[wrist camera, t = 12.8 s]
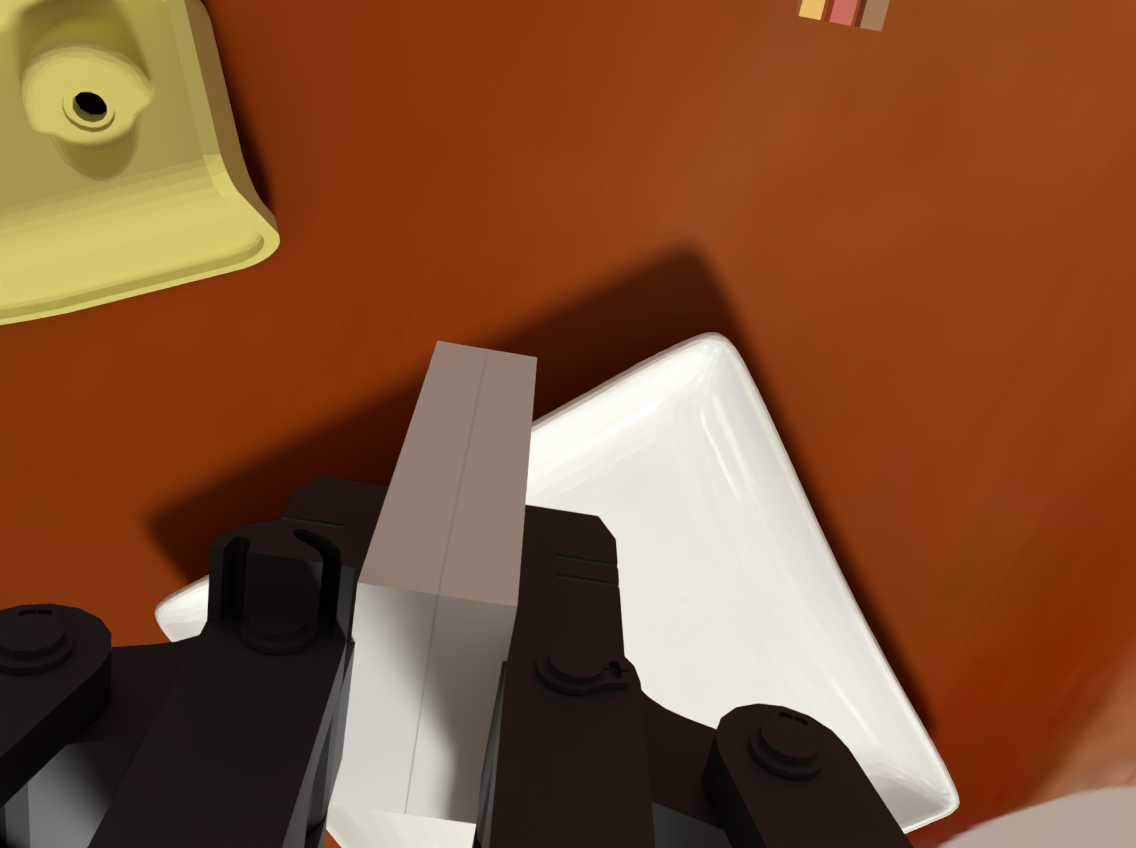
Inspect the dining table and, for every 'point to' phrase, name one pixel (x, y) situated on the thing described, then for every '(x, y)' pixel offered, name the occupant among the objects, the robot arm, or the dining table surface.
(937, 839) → the dining table surface
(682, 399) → the square plate
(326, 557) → the robot arm
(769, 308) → the dining table surface
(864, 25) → the plug housing
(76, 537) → the dining table surface
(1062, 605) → the dining table surface
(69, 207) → the plastic component
